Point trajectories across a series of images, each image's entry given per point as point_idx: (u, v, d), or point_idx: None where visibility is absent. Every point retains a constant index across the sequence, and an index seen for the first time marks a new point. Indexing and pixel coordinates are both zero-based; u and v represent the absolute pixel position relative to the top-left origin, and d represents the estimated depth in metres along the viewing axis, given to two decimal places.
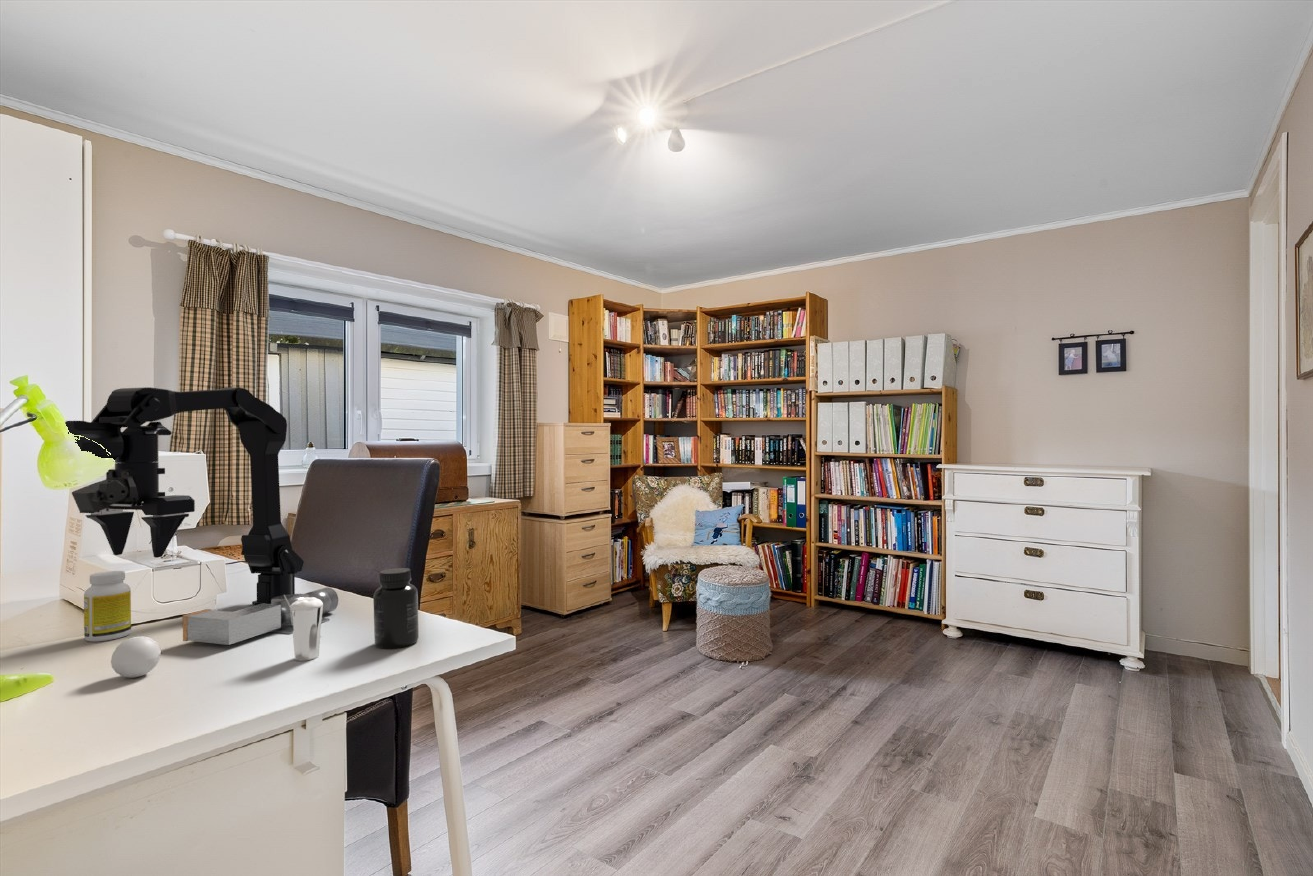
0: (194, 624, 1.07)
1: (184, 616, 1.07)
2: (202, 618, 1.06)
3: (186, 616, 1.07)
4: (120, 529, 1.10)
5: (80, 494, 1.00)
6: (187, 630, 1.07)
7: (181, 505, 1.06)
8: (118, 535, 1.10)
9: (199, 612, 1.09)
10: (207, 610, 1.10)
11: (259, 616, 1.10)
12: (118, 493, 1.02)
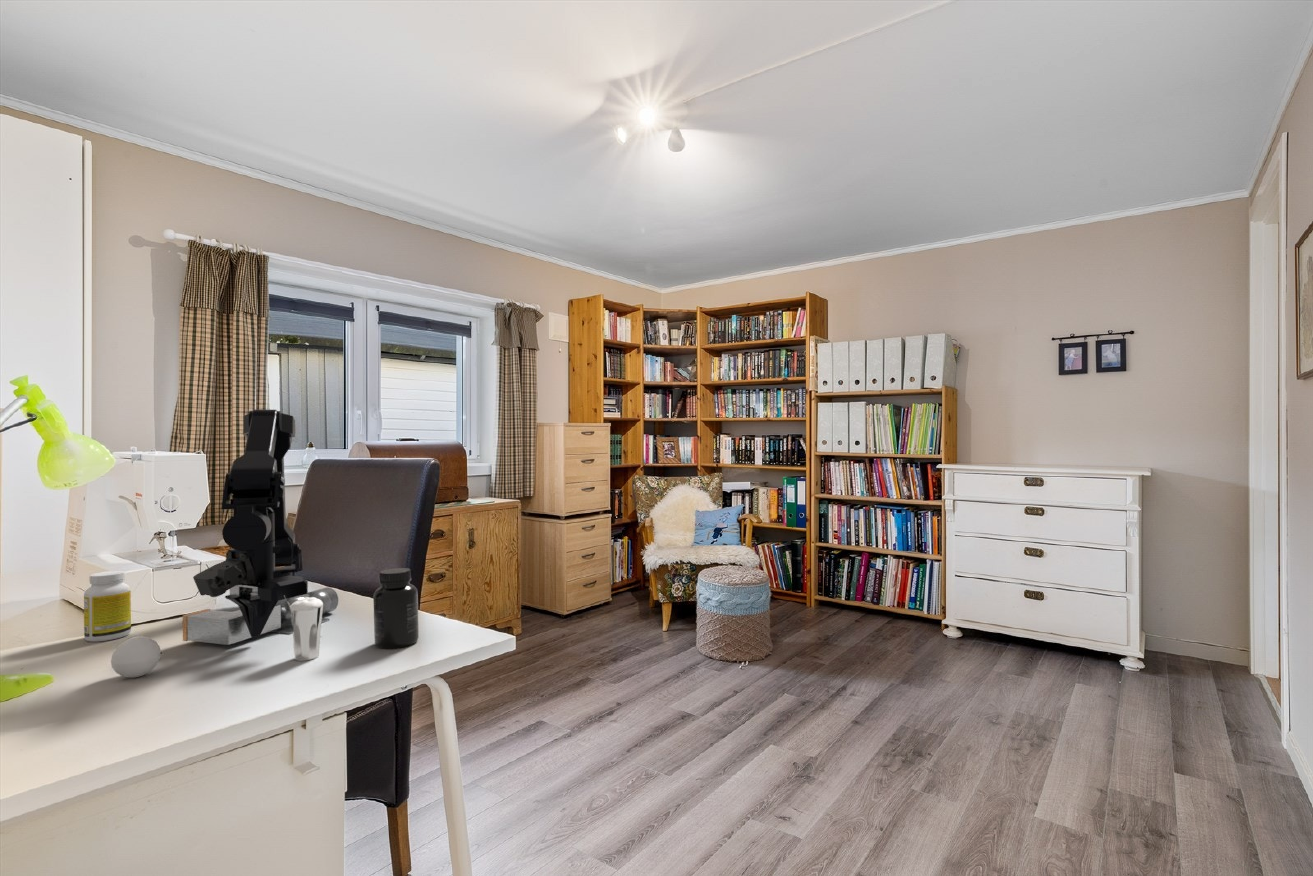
0: (194, 624, 1.07)
1: (184, 616, 1.07)
2: (202, 618, 1.06)
3: (186, 615, 1.07)
4: None
5: (200, 580, 0.99)
6: (187, 630, 1.07)
7: (294, 588, 1.03)
8: None
9: (199, 612, 1.09)
10: (207, 610, 1.10)
11: None
12: (235, 578, 1.00)
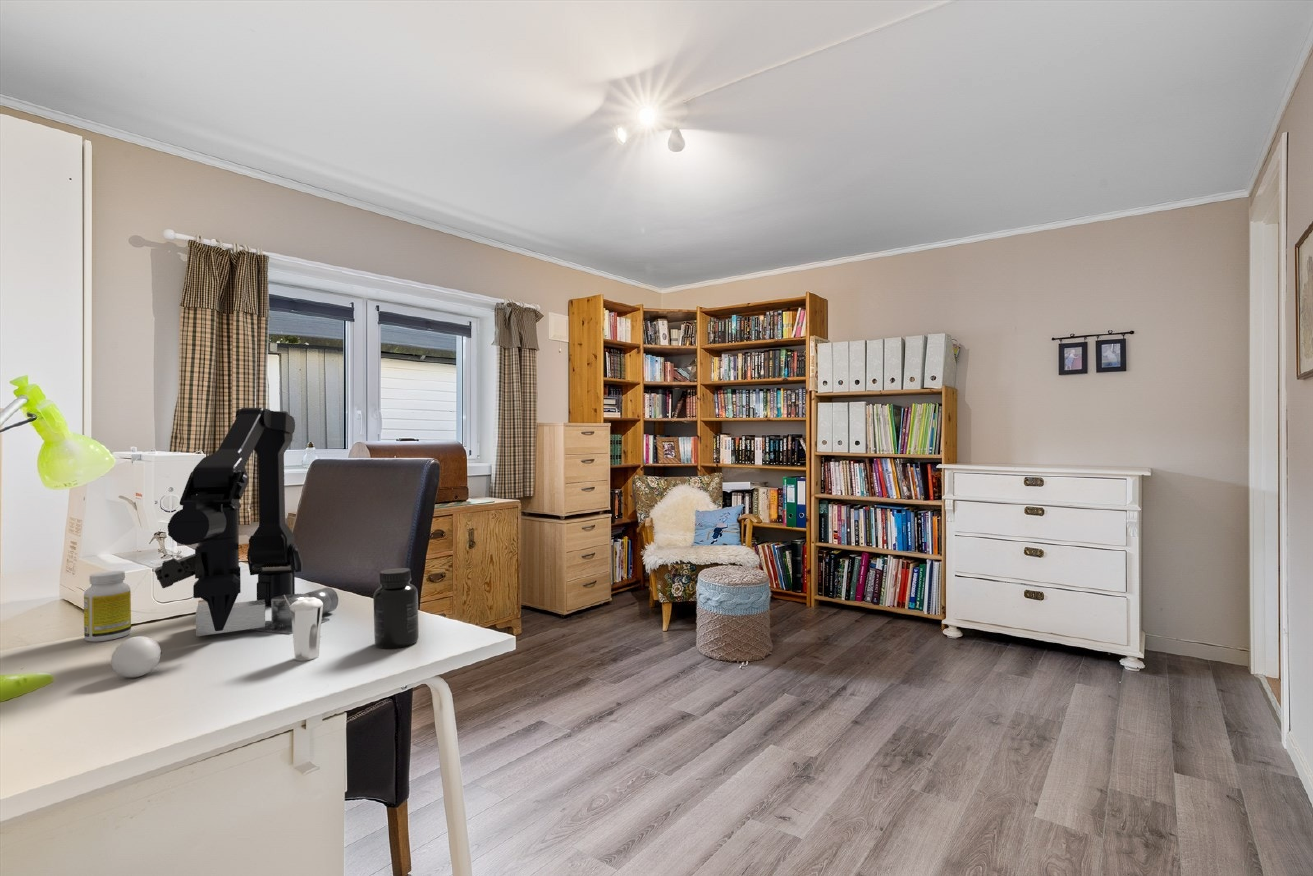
0: None
1: (198, 601, 1.17)
2: (198, 606, 1.14)
3: (198, 601, 1.17)
4: None
5: (155, 570, 1.05)
6: None
7: (220, 587, 1.02)
8: None
9: None
10: None
11: (235, 613, 1.12)
12: (174, 572, 1.03)
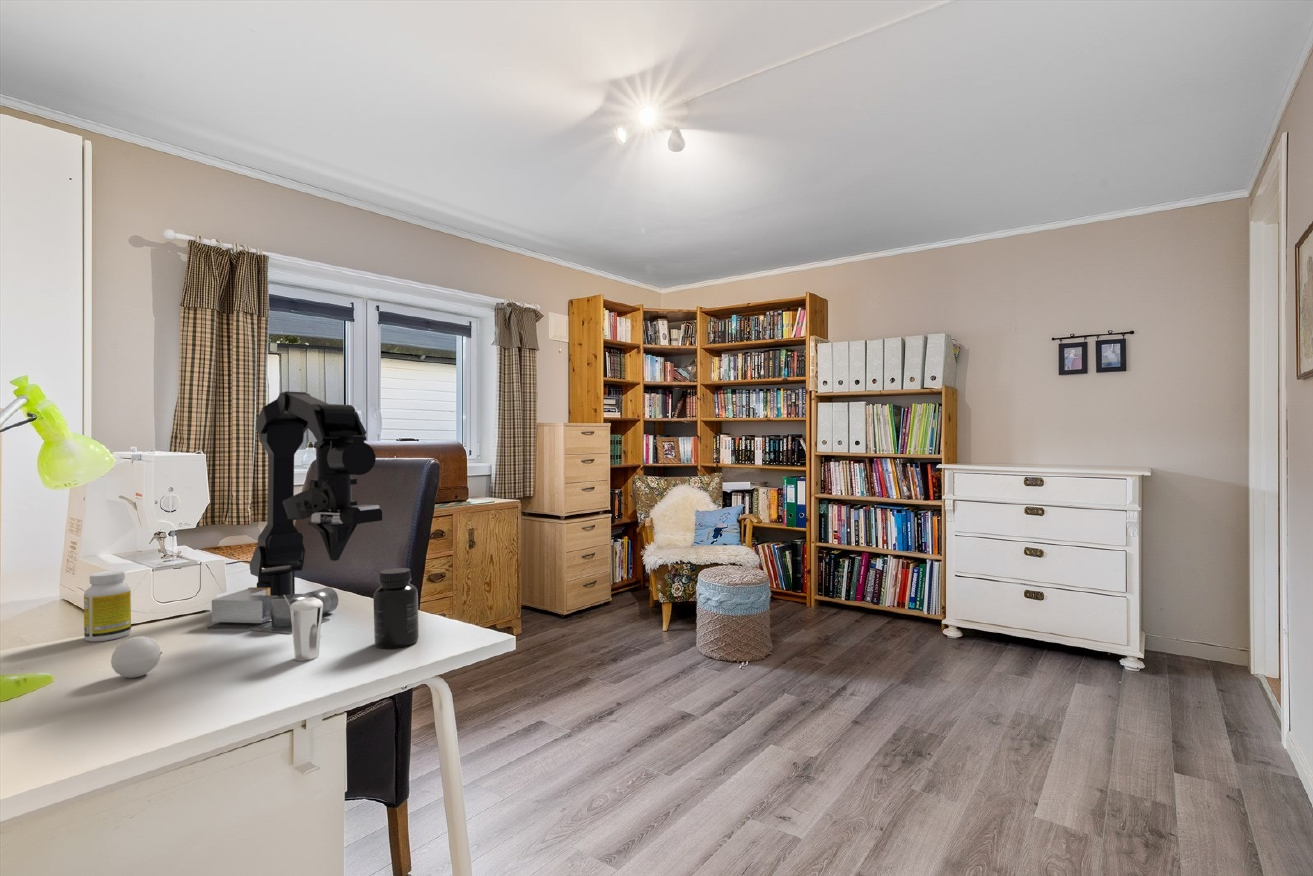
0: None
1: (249, 588, 1.27)
2: (235, 593, 1.24)
3: None
4: None
5: (290, 503, 1.09)
6: None
7: (372, 514, 1.13)
8: None
9: (258, 588, 1.27)
10: (264, 588, 1.27)
11: (239, 605, 1.18)
12: (321, 502, 1.10)
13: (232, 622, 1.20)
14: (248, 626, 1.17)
